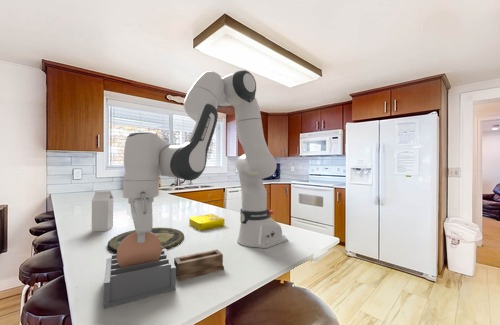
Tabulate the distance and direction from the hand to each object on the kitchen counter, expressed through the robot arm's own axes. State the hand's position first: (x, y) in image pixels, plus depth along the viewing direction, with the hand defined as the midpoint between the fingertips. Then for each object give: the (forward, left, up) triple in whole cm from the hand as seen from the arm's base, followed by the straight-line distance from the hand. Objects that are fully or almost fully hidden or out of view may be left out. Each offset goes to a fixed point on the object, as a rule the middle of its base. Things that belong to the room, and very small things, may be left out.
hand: (140, 240), depth 62 cm
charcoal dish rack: (0, -2, -13) cm, 13 cm away
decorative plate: (-6, -38, -14) cm, 40 cm away
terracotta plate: (0, 0, -3) cm, 3 cm away
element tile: (-36, -48, -14) cm, 62 cm away
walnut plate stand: (-17, -2, -13) cm, 22 cm away
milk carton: (+12, -66, -13) cm, 68 cm away
